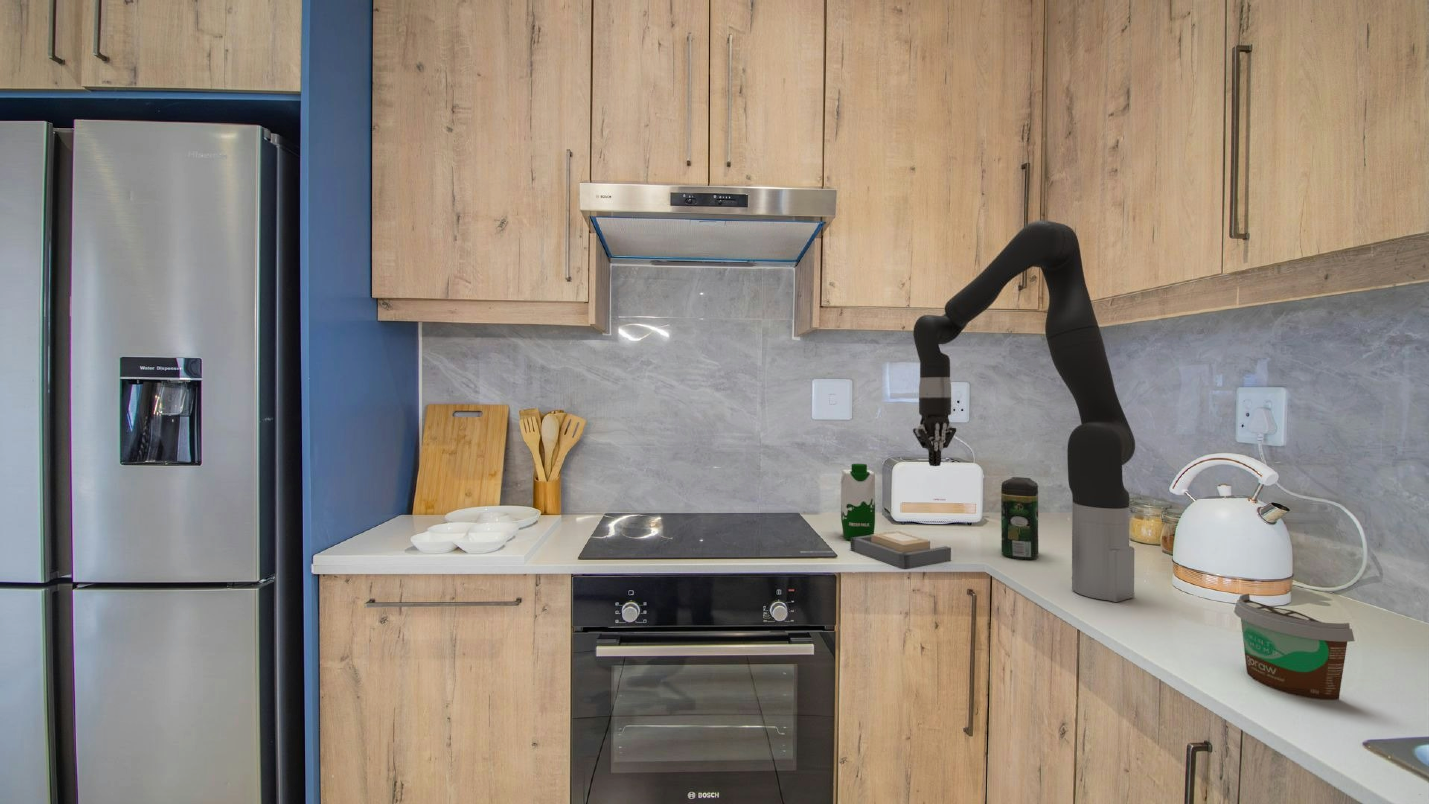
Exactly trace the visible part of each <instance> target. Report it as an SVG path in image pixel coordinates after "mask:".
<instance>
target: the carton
mask: <svg viewBox="0 0 1429 804" xmlns="http://www.w3.org/2000/svg"><path fill="white" fill-rule="evenodd" d="M871 542H872V543H875V544H878V545H881V546H884V547H887V548H890V549H893V550H896V551H900V552H903V553H907V552H913V551H920V550H926V549H931V540H928V539H924V538H921V537H918V536H914V535H912V534H911V535H910V534H908V533H904V532H901V531H897V530H895V531H886V532H880V533H874V534H871Z"/></svg>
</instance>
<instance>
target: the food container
mask: <svg viewBox="0 0 1429 804" xmlns="http://www.w3.org/2000/svg"><path fill="white" fill-rule="evenodd" d="M1250 598H1251V597H1250V593H1243V594H1241V595H1240V596H1239V599H1237V601H1236V603H1235V607H1234V610H1233V612H1234V614H1235V615H1236V616H1237V617H1238V618H1240V624H1241V633H1242V641H1243V650H1244V658H1245V667H1246V669H1245V670H1246V673H1247V675H1248V676H1249V677H1250V678H1251V679H1253V680H1254V681H1256V682H1257V683H1260V684H1262V685H1264V686H1266V687H1269V688H1271V689H1274V690H1277V691H1280V692H1282V693H1286V694H1290V695H1293V696H1299V697H1301V698H1308V699H1314V700H1315V699H1316V700H1323V701H1324V700H1325V701H1329V700H1330V701H1335V700H1340V694H1341V687H1342V680H1343V673H1344V667H1345V660H1346V653H1347V648H1348V647H1347V646H1348V642H1355V637H1354V632H1353V628H1350V627H1351V626H1350V622H1342V623H1340V622H1324V621H1320V620H1317V619H1315V618H1313V617H1310V616H1307V615H1305V614H1304V613H1301V612H1299V611H1295V610H1291V609H1288V608H1281V607H1275V606H1270V605H1266V604H1263V603H1260V602H1257V601H1254V600H1251V599H1250Z"/></svg>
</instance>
